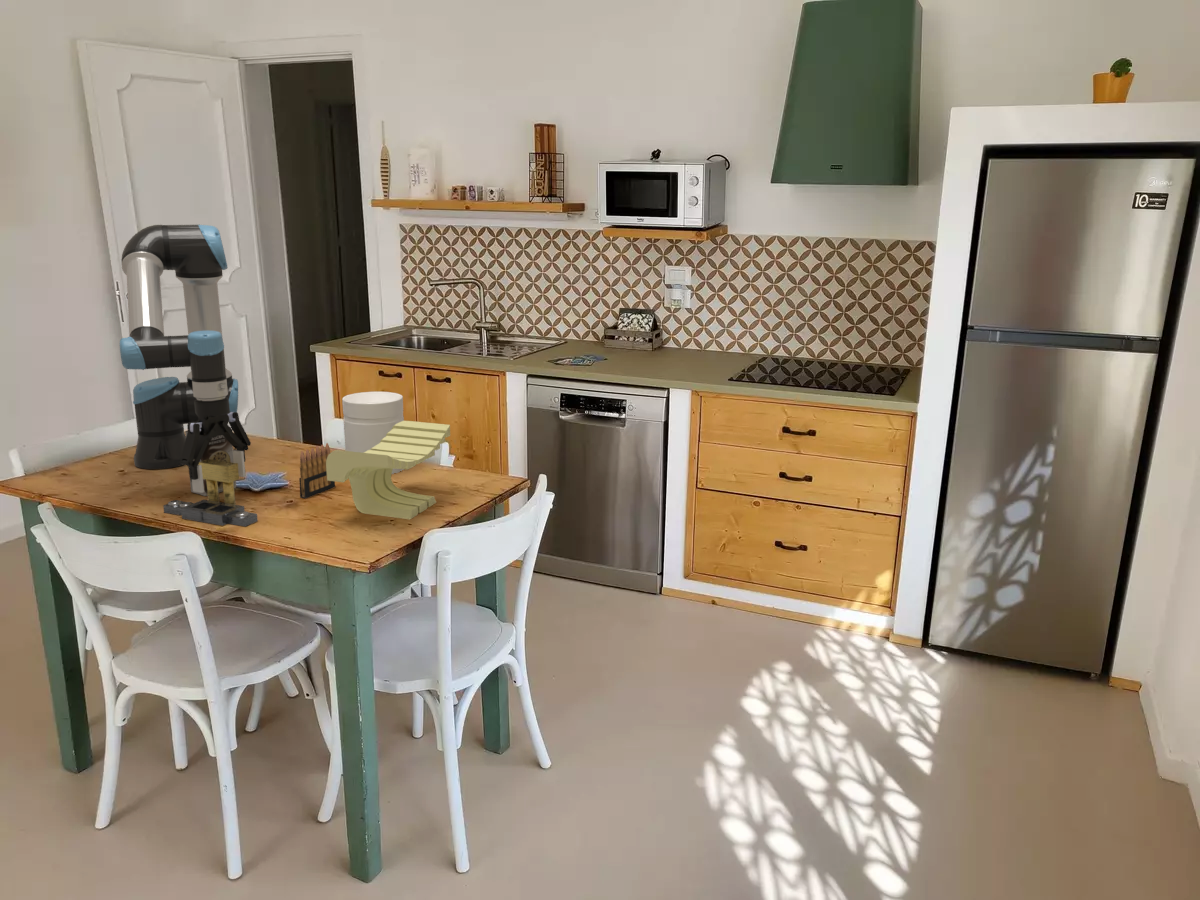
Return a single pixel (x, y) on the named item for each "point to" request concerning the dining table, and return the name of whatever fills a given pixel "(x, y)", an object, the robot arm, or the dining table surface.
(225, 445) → the coffee box
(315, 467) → the ammunition clip
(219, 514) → the chain joint
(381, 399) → the canister
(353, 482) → the slatted curved stool
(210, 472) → the tan piece
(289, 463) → the dining table surface
